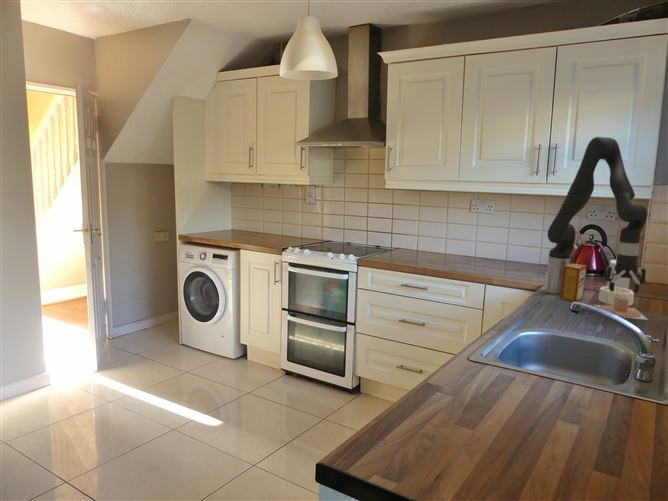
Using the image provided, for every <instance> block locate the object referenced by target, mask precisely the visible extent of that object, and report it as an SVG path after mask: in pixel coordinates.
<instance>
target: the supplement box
mask: <svg viewBox="0 0 668 501" xmlns="http://www.w3.org/2000/svg"><path fill="white" fill-rule="evenodd" d="M616 260H617V259H616ZM616 260H615V259H610V261H609V266H610V267H615V266H616ZM615 273H616V271H615V270H613V271H612V272H611V276H610V278H612V277H613V275H614V274H615ZM606 281H607V280H606ZM630 282H631V278H621V277H620V278H619V279H617V280H616V281H615V282H614V283H615V284H614V287H620V288H625V289H629V288H630ZM609 283H610V282H609V281H607V282H606V286H609Z"/></svg>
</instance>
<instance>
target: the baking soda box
mask: <svg viewBox="0 0 668 501" xmlns="http://www.w3.org/2000/svg"><path fill="white" fill-rule="evenodd" d="M587 267H588V266H587V265H584V264H577V263H570V264H569V265H566V266H564V274H563V282H562V291H561V294H560V299H561V300H567V301H570V302H575V301H576V302H578V301H579V300H582V299H583V298H584V292H585V286H586V277H587Z"/></svg>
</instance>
